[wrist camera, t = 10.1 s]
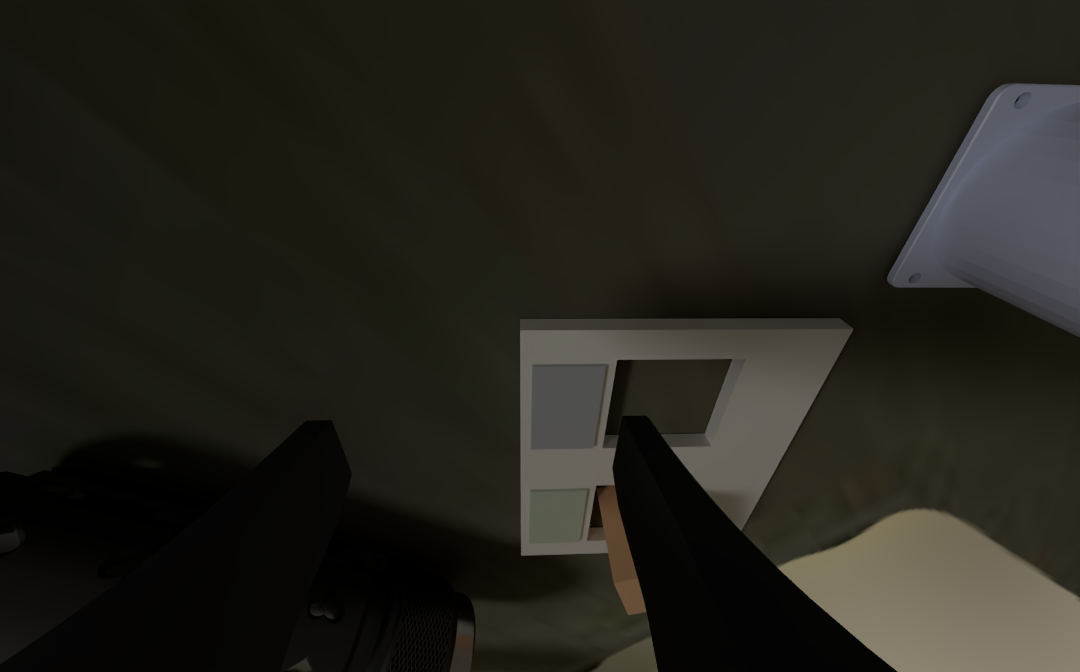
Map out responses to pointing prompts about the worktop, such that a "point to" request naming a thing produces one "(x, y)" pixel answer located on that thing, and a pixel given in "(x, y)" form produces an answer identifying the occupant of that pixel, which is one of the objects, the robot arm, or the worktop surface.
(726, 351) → the panel
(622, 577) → the plug
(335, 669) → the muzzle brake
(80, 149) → the worktop surface
